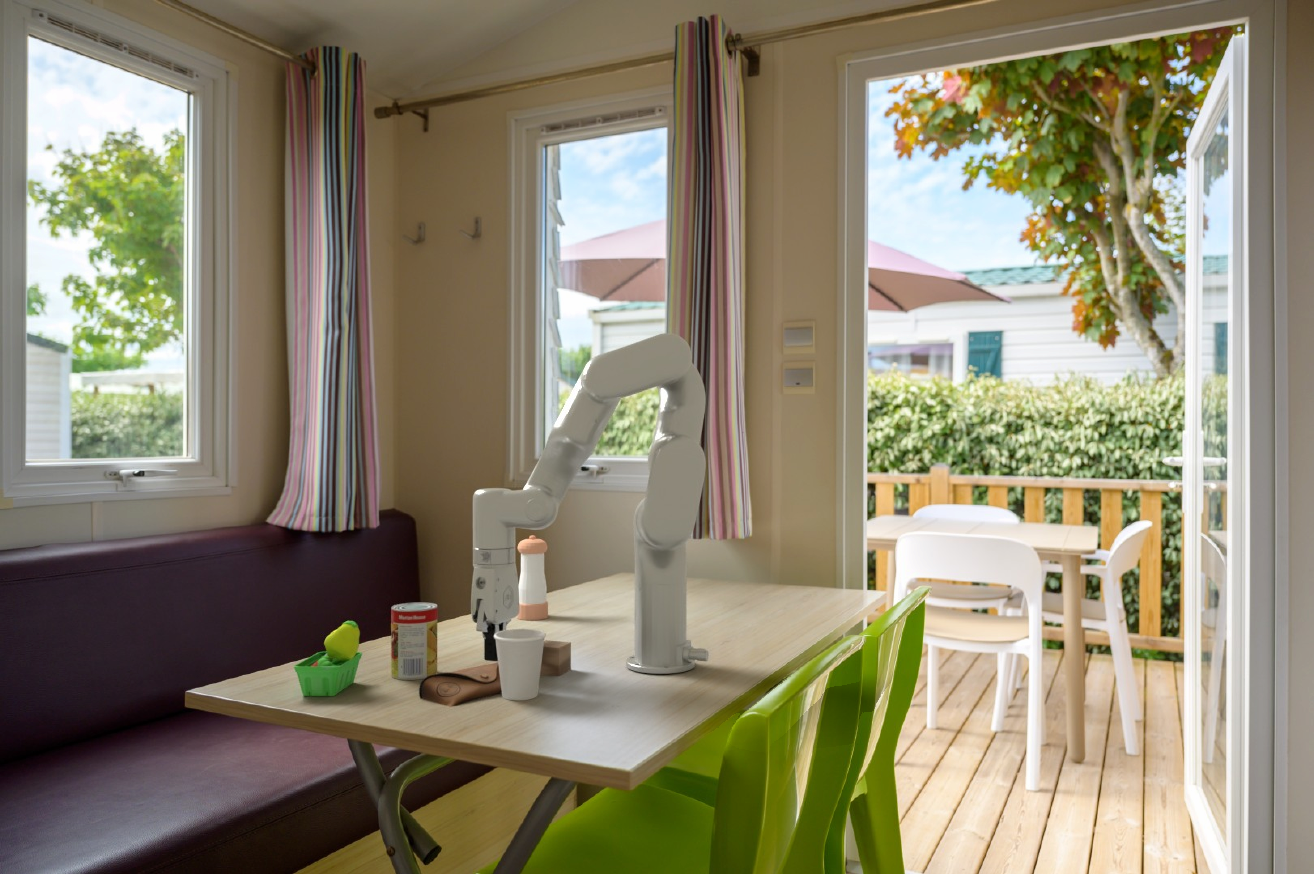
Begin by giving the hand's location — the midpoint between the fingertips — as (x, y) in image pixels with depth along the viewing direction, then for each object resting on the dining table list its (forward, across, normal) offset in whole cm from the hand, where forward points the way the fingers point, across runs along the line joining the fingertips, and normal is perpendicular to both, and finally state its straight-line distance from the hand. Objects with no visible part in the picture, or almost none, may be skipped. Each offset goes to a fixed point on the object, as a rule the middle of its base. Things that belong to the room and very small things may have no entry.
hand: (494, 659), depth 165 cm
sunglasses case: (+3, -13, -4) cm, 14 cm away
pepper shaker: (+2, +48, +17) cm, 51 cm away
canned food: (+2, -7, +12) cm, 14 cm away
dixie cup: (+2, -13, -12) cm, 18 cm away
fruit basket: (+2, -20, +19) cm, 28 cm away
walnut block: (+2, +3, -10) cm, 11 cm away
